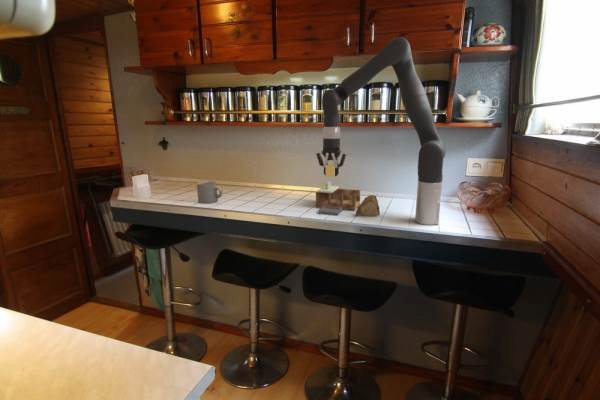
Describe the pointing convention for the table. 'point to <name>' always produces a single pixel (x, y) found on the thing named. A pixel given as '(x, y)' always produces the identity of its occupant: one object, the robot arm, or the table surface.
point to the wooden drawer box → (339, 199)
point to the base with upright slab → (141, 186)
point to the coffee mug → (208, 192)
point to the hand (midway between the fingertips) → (331, 175)
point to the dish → (330, 210)
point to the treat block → (330, 170)
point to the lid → (328, 188)
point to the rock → (368, 207)
